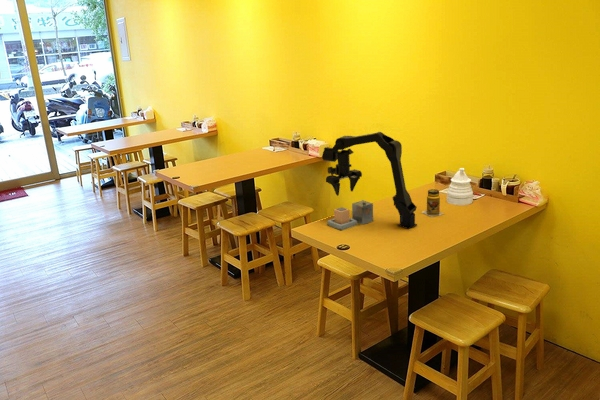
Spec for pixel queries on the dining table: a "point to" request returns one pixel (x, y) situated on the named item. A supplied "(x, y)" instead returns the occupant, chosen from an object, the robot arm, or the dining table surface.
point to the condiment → (433, 203)
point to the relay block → (341, 215)
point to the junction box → (362, 212)
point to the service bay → (343, 226)
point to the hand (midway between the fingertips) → (344, 193)
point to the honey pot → (460, 189)
